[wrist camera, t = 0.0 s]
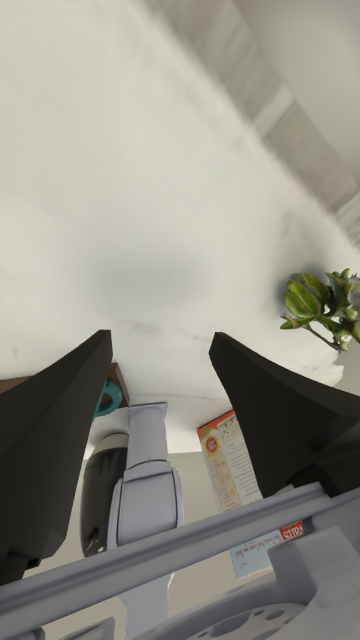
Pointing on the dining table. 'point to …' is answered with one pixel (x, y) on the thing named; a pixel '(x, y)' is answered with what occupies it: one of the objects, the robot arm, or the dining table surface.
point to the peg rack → (112, 376)
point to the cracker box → (238, 490)
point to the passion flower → (340, 296)
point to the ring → (111, 406)
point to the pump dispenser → (100, 491)
